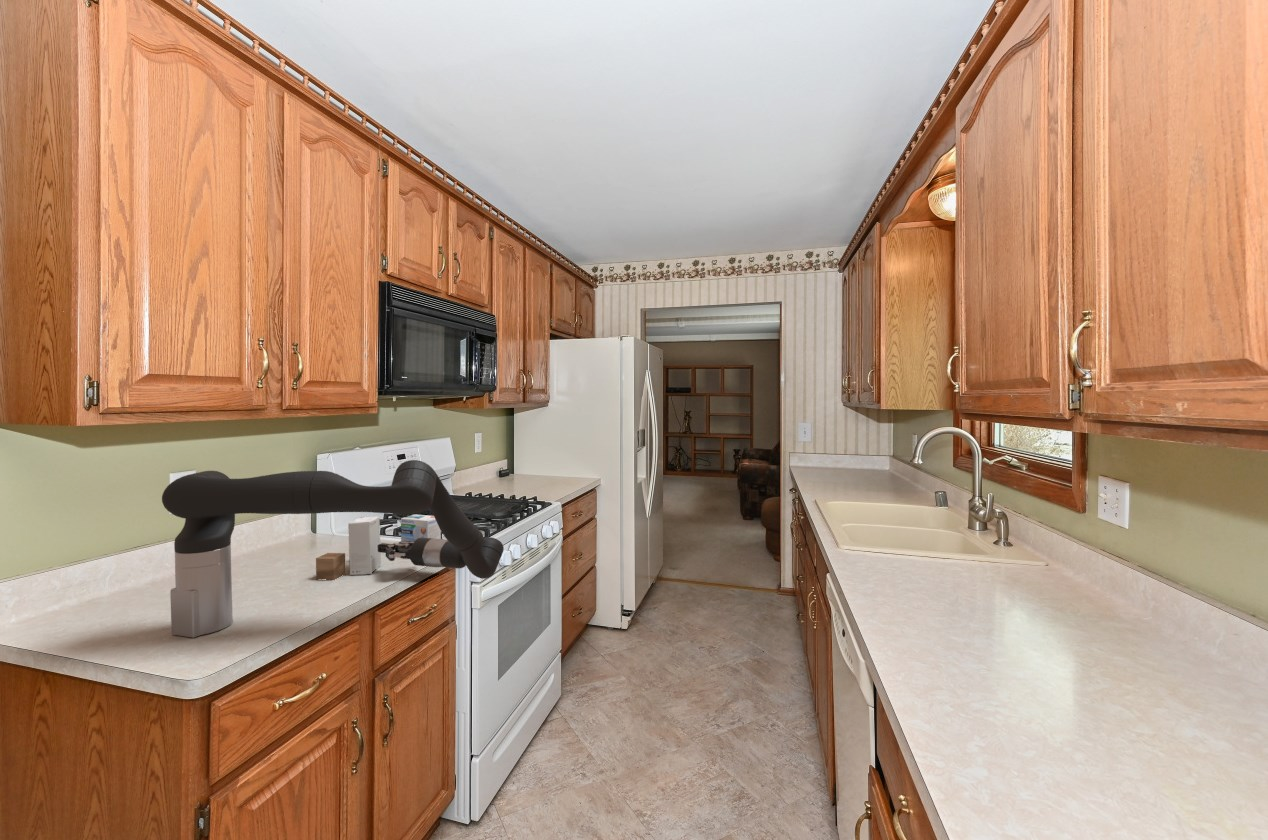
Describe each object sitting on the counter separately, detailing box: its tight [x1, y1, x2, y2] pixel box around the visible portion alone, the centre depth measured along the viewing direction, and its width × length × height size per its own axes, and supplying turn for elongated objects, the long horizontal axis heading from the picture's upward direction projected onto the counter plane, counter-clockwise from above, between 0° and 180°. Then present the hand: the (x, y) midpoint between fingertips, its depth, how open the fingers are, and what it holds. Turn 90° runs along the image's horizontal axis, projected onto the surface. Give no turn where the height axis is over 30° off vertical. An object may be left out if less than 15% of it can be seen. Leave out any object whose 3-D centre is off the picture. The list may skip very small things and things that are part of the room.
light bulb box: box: [400, 513, 442, 542], centre depth 169 cm, size 11×7×11 cm, turn 73°
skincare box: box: [347, 516, 382, 576], centre depth 149 cm, size 8×6×15 cm
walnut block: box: [315, 552, 346, 581], centre depth 143 cm, size 5×5×6 cm
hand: (379, 547), depth 147 cm, fingers closed
